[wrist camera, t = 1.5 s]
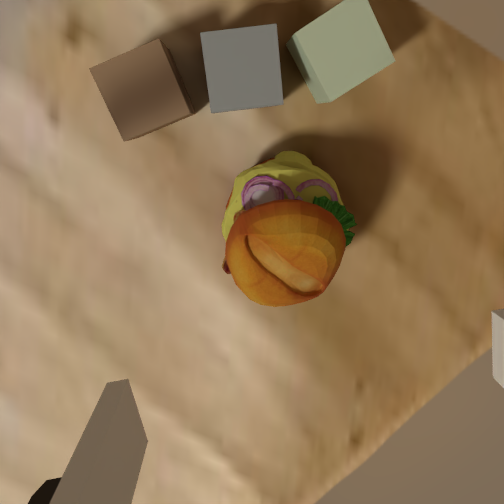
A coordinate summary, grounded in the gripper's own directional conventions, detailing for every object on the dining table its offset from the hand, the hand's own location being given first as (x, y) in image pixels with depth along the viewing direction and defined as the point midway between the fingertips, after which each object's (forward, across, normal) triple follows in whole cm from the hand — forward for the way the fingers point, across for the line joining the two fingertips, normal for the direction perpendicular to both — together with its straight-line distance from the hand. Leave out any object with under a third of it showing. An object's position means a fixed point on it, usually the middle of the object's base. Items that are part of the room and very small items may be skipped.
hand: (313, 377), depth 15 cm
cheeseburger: (+23, +1, 0) cm, 23 cm away
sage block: (+23, +7, +12) cm, 27 cm away
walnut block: (+23, -7, +12) cm, 27 cm away
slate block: (+23, 0, +12) cm, 26 cm away
